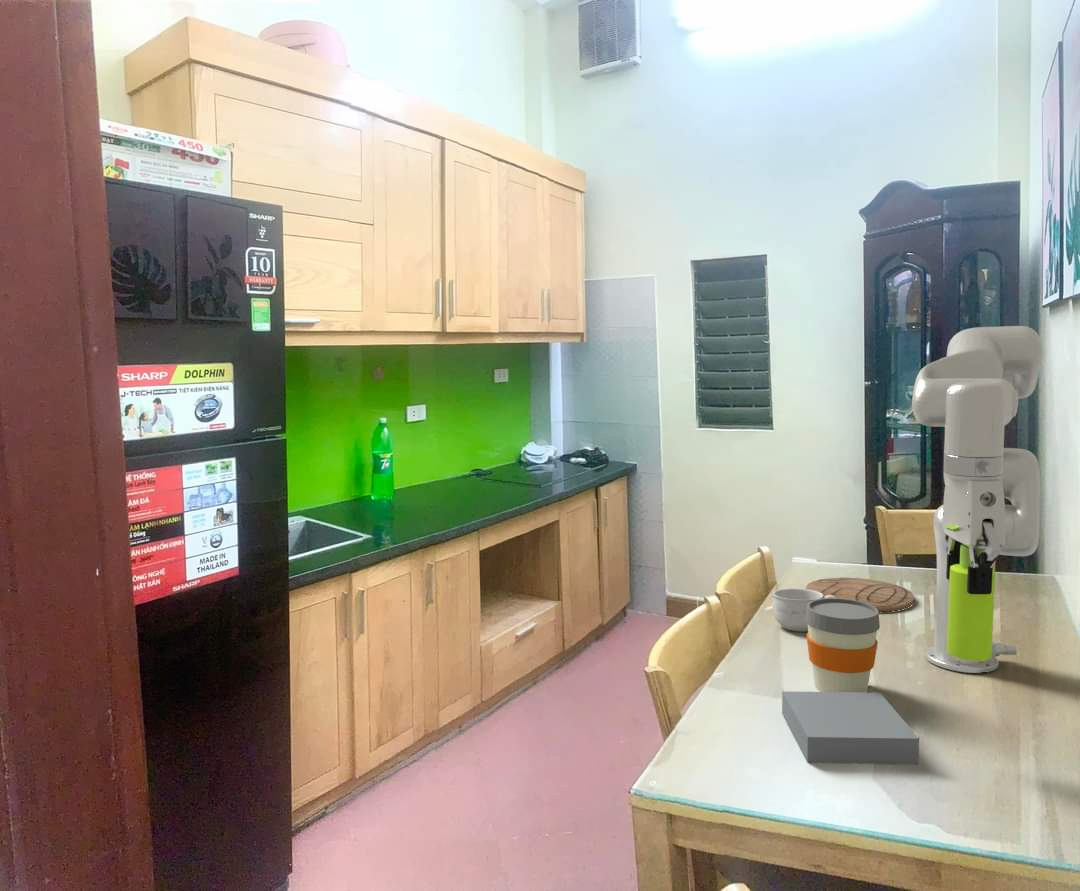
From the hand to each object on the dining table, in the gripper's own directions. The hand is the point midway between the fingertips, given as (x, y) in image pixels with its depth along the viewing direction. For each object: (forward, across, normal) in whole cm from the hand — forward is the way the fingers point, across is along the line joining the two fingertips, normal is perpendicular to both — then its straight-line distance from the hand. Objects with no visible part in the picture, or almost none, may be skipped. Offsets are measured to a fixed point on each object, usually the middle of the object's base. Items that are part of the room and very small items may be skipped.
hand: (968, 585), depth 115 cm
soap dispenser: (+11, 0, 0) cm, 11 cm away
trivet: (+28, +77, -10) cm, 83 cm away
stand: (+26, +3, +16) cm, 31 cm away
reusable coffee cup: (+26, +22, +11) cm, 36 cm away
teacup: (+27, +54, +9) cm, 61 cm away
